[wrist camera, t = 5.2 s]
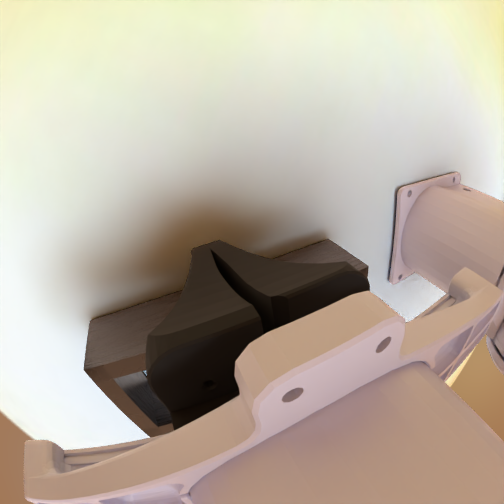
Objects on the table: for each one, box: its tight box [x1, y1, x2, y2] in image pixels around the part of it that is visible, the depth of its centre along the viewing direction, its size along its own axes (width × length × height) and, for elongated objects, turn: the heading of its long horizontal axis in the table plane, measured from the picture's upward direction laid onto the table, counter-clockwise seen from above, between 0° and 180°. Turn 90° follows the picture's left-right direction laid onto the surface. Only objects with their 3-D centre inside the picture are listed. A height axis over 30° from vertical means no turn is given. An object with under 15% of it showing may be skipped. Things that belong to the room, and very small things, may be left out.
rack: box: [84, 239, 368, 437], centre depth 17 cm, size 14×20×4 cm
